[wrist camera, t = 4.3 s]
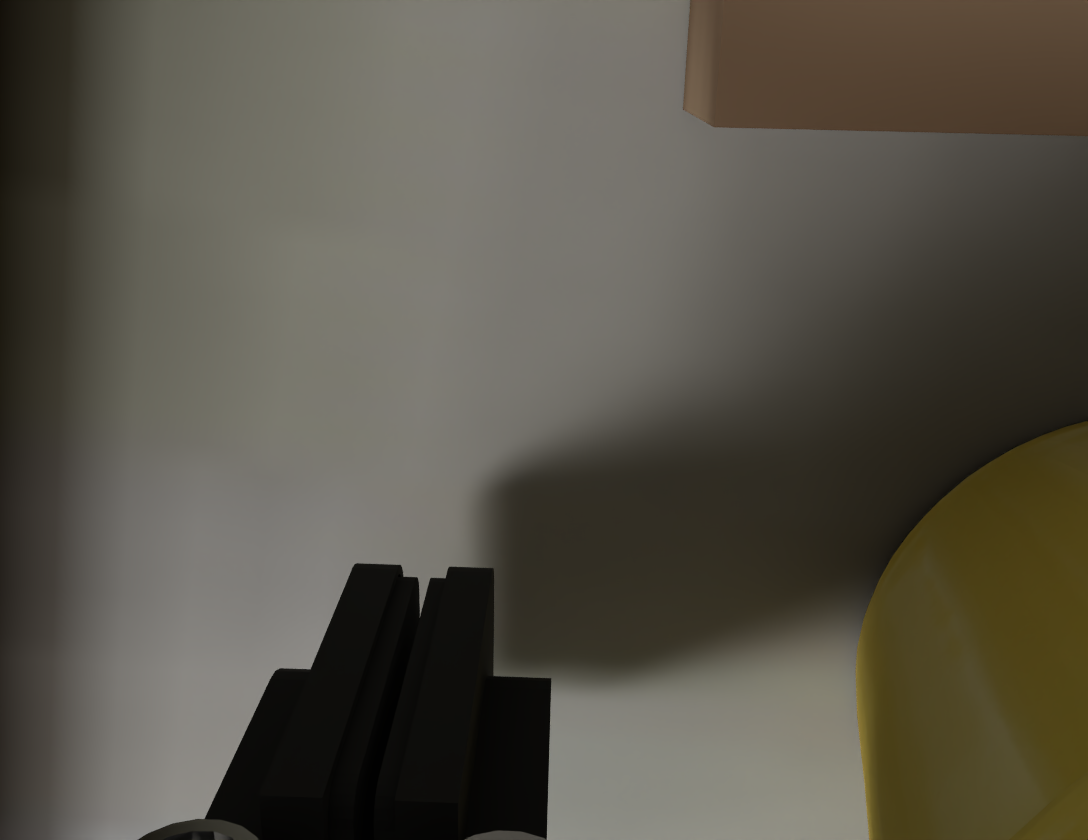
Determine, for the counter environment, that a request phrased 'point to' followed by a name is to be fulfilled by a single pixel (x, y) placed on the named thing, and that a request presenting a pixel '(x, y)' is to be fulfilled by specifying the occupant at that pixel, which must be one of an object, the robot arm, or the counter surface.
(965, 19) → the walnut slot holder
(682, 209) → the counter surface
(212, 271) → the counter surface
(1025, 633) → the plant pot
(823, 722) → the counter surface
